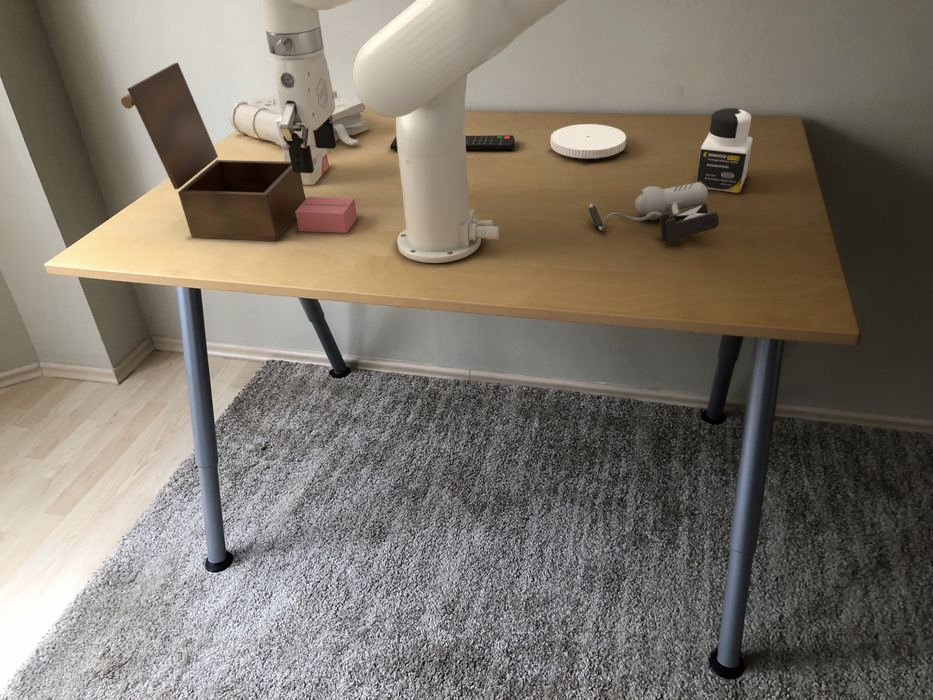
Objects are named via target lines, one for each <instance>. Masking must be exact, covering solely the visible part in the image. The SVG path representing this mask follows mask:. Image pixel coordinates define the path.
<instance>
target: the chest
mask: <svg viewBox="0 0 933 700" xmlns="http://www.w3.org/2000/svg"><path fill="white" fill-rule="evenodd" d="M177 193H178V194H177V195H178V197H179V200H180V203H181V204H180V205H181V208H182V210H183V213H184V217H185V220H186V223H187V227H188V230H189V234H190V236H191V238H195V239H215V240H217V239H218V240H236V241H237V240H238V241H257V242H258V241H261V242H278V241H279V240H280V238H281V237H282V236H283V235H284V233H285V232H287V230H288V229H289V227H290V226H291V225H292V224H293V223H294V222H295V221H296V220H297V218H296V213H295V211H296V210H297V209H298V208H299V207H300V206H301V204H302V203H303V202H304V201H305V200H306V199H307V197H306V193H305V189H304V185H303V183H302V178H301V173H295V172H293V170H292V165H291V162H285V161H278V160H277V161H273V160H272V161H271V160H238V159H237V160H233V159H215V160H214V161H213V163H210V164H209V165H208V166H207V167H206V168H204V169H203V170H202V172H200V173H198V174H197V176H196V177H195V178H192V179H191V181H190V182H187V183H186V184H185V185H184V187H183V188H182V187H181V188H180V190H178V192H177Z"/></svg>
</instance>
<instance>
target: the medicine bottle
mask: <svg viewBox="0 0 933 700" xmlns="http://www.w3.org/2000/svg"><path fill="white" fill-rule="evenodd" d="M751 123H752V115H751V114H750V113H749V112H748V111H746V110H744V109H741V108H736V107H726V108H721V109H718V110H716V111H714V112H713V113H712V114H711V118H710V123H709V124H710V125H709V131H708V134H707V136H706V138H705V139H704V142H703V143H702V145H701V147H700V150H699V160H698V165H697V173H696V179H695V183H697V182H699V183H702V184H703V185H704V186H705V187H706V188H707V190H710V191H718V192H725V193H734V194H739V193H740V192H741V190H742V187H743V184H744V183H745V180H746V177H747V173H748V167H749V162H750V157H751V151H752V146H753V140H754V138H753V137H752V136H749V133H750V128H751Z"/></svg>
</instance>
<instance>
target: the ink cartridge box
mask: <svg viewBox="0 0 933 700" xmlns="http://www.w3.org/2000/svg"><path fill="white" fill-rule="evenodd" d="M281 119H282V117H280V118H279V119H278V120H277V121H276V124H277V129H278V133H279V138H280V142H281V151H282V155H283V160H284V162H291V160H290V155H289V149H288V148H287V146H286V142H285V141H284V138H283V134H282V132H281V130H280V122H281ZM296 125H303V123H297V124H296ZM294 133H297V134H298V135H299V137H300V138H301V133H302V131H294ZM307 146H310V149H311V155H312V161H313V166H314V171H313V172H312V173H301V178H302V183H303V186H313V185H315V184H316V183H317V182H318V181H319V180H320V178H321V177H322V176H323V175H324V174H325V172H327V170H328V169H329V168H330V164H329V158H328V152H327V149H324V148H317V147H316V144H315V138H314V132H313V130H311V129H309V132H308V141H307Z"/></svg>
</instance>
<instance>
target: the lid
mask: <svg viewBox="0 0 933 700" xmlns="http://www.w3.org/2000/svg"><path fill="white" fill-rule="evenodd" d="M126 90H127V92H128V93H127V94H125V95H124V96H122V97H121V98H120V103H121V105H122V106H123V107H124V108H125V109H128V110H130V109H133V108H134V107H135V109H136V110H137V113H138V115H139V117H140V118H141V121H142V123H143V126H144V128H145V130H146V132H147V134H148V136H149V139H150V141H151V142H152V144H153V147H154V148H155V149H154V150H156V153H157V155H158V157H159V158H160V161H161V164H162V165H163V168H164V169H165V172H166V174H167V176H168V178H169V180H170V182H171V184H172V186H173V189H174V190H179V189H182V187H183V186H185V185H186V184H188V183H189V181H190V180H193V179H194V177H195V176H196V175H199V174H200V173H201V171H204V170H205V169H206V168H207V167H208V166H210V165H211V164H212V162H215V161H216V160H217V158H218V157H219V155H218V153H217V151H216V149H215V146H214V144H213V141H212V139H211V136H210V134H209V132H208V130H207V127H206V125H205V122H204V120H203V118H202V116H201V114H200V111H199V108H198V106H197V103H196V102H195V99H194V97H193V94H192V92H191V90H190V87H189V85H188V83H187V80H186V79H185V76H184V73H183V71H182V69H181V67H180V64H179V62H174V63H172V64H170V65H168V66H167V67H164V68H162V69H160V70H159V71H157V72H155V73H154V74H152V75H151V74H150V76H148V77H146V78H144V79H142V80H141V81H138V82H137V83H134V84H133V85H131V86H129V87H128V88H127V89H126Z"/></svg>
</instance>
